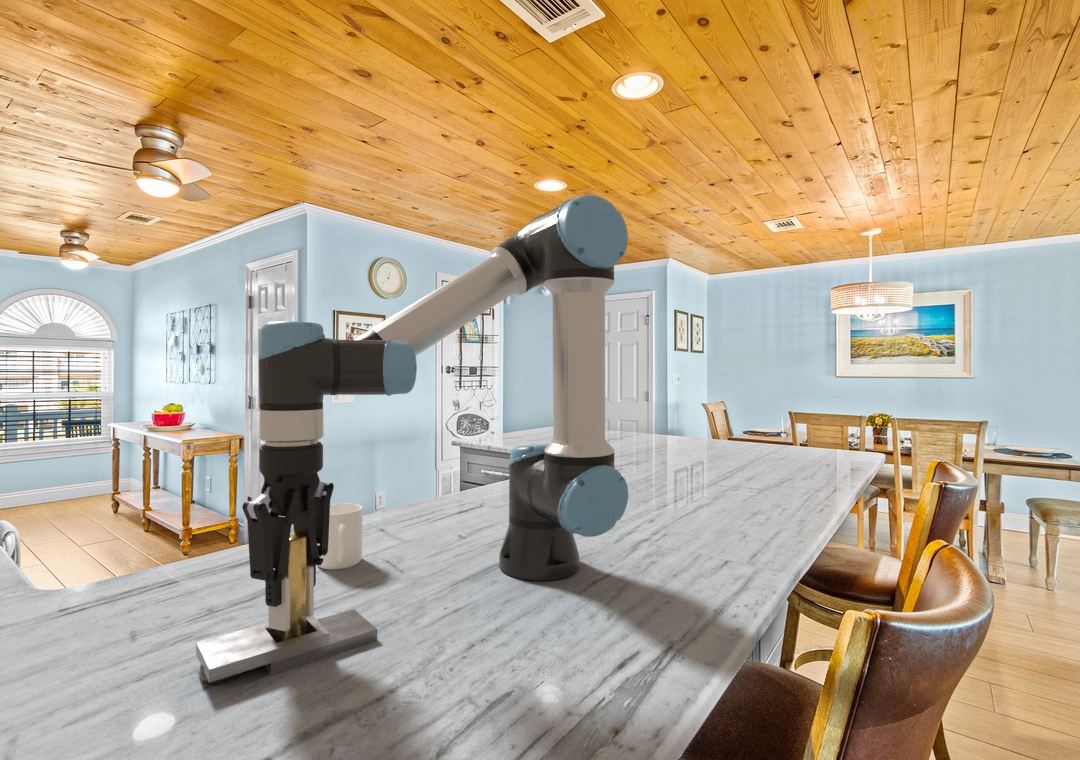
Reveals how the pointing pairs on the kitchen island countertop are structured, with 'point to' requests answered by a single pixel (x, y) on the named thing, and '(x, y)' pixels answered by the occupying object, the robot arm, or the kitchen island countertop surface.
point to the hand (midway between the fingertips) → (291, 620)
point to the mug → (344, 537)
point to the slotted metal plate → (280, 646)
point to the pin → (296, 588)
